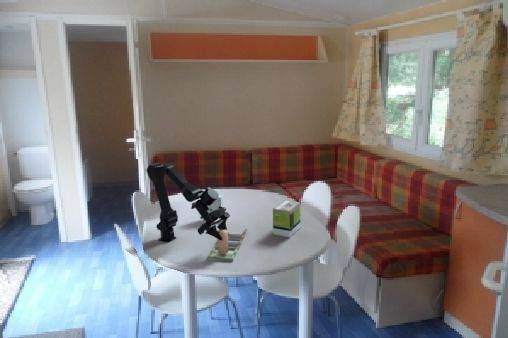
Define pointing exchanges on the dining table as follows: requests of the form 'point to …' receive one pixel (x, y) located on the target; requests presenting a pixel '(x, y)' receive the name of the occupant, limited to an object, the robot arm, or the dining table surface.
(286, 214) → the tea box
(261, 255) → the dining table surface
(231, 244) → the frame
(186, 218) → the dining table surface
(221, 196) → the skincare box
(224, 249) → the peach capsule
